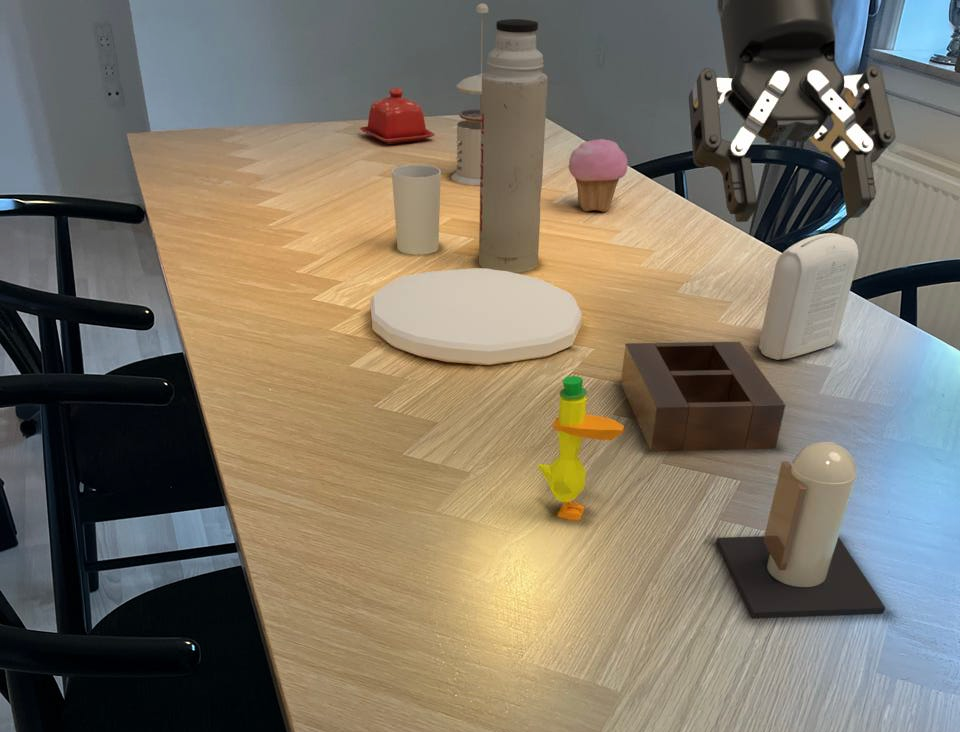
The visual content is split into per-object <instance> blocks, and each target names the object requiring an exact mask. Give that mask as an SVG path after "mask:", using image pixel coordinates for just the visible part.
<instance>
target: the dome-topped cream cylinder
mask: <svg viewBox="0 0 960 732" xmlns="http://www.w3.org/2000/svg"><path fill="white" fill-rule="evenodd" d="M857 473H858V472H857V467H856V463H855V460H854V458H853V456H852V454H851V453H850V452H849V451H848V450H847V449H846V448H845V447H843V446H841V445H840V444H837V443H834V442H831V441H818V442H815V443H812V444H809V445H808V446H806V447H804V448H803V449H801V450H800V451H799V452H798V454H796V456H795V457H794V459H792V461H791V463H790V461H787V460H786V461H781V464H780V467H779V473H778V477H777V481H776V485H775V490H774V493H773V498H772V502H771V507H770V510H769V515H768V518H767V523H766V526H765V527H766V528H765V531H764V535H763V536H764V540H763V542H764V544H765V545H766V547H767V549H768V551H769V553H770V555H769V559H768V563H767V569H768V571H769V573H770V574H771V575H772V576H773V577H774V578H775V579H777V580H778V581H780V582H782V583H784V584H787V585H790V586H795V587H814V586H817V585H819V584H821V583H823V582H824V581H825V579H826V577H827V574H828V570H829V567H830V564H831V560H832V557H833V553H834V550H835V547H836V543H837V540H838V537H840V533H841V529H842V527H843V522H844V519H845V516H846V512H847V509H848V505H849V502H850V498H851V495H852V492H853V489H854V485H855V482H856V479H857Z"/></svg>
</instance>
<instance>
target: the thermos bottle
mask: <svg viewBox="0 0 960 732" xmlns="http://www.w3.org/2000/svg"><path fill="white" fill-rule="evenodd" d="M495 25H496V26H495V27H496V32H497V33H496V34H495V45H494V48H493V49H492V50H490V51H489V52H488V54H487V60H486V64H487V71H485V72H483V73H482V100H481V163H480V185H479V225H478V226H479V231H478V232H479V234H478V236H479V238H478V264H479V266H480V268H487V269H493V270H500V271H508V272H512V273H517V274H521V273H526V272H531V271H532V270H535V269H536V268H537V267H538V265H539V250H540V249H539V247H540V230H541V229H540V227H541V196H542V185H543V173H544V172H543V171H544V153H545V135H546V119H547V118H546V117H547V115H546V114H547V98H548V97H547V96H548V80H549V79H548V75H546V74H545V73H544V72H543V68H544V66H545V64H544V62H545V60H544V54H542V52H540V51H539V50H538V48H537V35H536V32H537V31H538V30H539V22H538V21H535V20H530V19H521V18H512V19H511V18H509V19H500V20H497V21H496V23H495Z"/></svg>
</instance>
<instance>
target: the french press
mask: <svg viewBox="0 0 960 732" xmlns="http://www.w3.org/2000/svg"><path fill="white" fill-rule="evenodd" d="M475 9H476V11H475V12H476V13H479V14H481V16H480V17H481V18H480V19H481V21H480V23H481V24H480V25H481V27H480V73H478V74H476V75H473V76H472V75H471V76H469V77H465V78H464V79H462V80H461V81H460V82H458V83H457V84H456V85H455V87H456V88H457V90H458V91H459V92H461V93H465V94H470V95H480V96H479V109H477V108H476V109H466V110H462V111H460V112H459V114H458V116H459V117H460V118H461V119H462V120H461V121H459V122H457V123H456V139H457V140H456V170H455V172H454V173H453V174H452V175H451V176H450V178H451V179H452V181H454V182H456V183H458V184H463V185H469V186H480V163H481V100H482V74H483V29H484V28H483V27H484V14H486V13H487V14H488V13H489V6H488V4H486V3H479V4H478V5H477V6H476V8H475Z"/></svg>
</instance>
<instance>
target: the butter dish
mask: <svg viewBox="0 0 960 732" xmlns="http://www.w3.org/2000/svg"><path fill="white" fill-rule="evenodd" d="M388 93H389V95H390V97H384V98H382V99H379V100H376V101H375V102H373V103H372V104H371V105H370V109H369V113H368V120H367V126H362V127H360V128H359V130H360V131H362V132H364V133H366V134H367V135H370V136H371V137H373V138H375V139H376V140H379V141H382V142H384V143H386V144H387V145H395V144H402V143H404V144H405V143H411V142H419V141H423V139H427V138H432V137H434V136H435V135H436V133H435V132H433V131H431V130H430V129H427V128H426V122H425V116H424V111H423V109H422V108H421V106H420V105H419V104H417V103H416V102H415V101H414V100H411V99H409V98H405V97H402V96H403V94H404V91H403V90H402V89H401V88H397V87H394V88H391V89H389V91H388Z"/></svg>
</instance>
